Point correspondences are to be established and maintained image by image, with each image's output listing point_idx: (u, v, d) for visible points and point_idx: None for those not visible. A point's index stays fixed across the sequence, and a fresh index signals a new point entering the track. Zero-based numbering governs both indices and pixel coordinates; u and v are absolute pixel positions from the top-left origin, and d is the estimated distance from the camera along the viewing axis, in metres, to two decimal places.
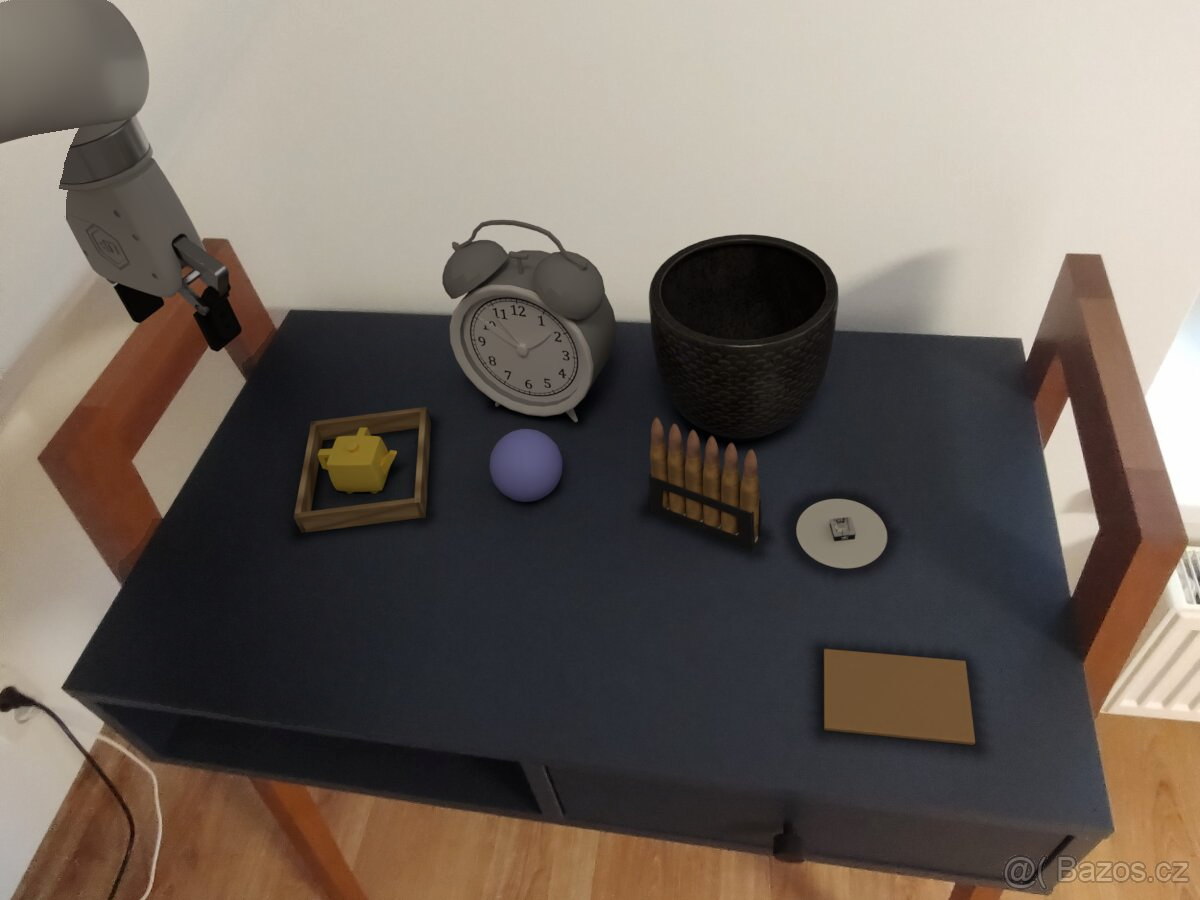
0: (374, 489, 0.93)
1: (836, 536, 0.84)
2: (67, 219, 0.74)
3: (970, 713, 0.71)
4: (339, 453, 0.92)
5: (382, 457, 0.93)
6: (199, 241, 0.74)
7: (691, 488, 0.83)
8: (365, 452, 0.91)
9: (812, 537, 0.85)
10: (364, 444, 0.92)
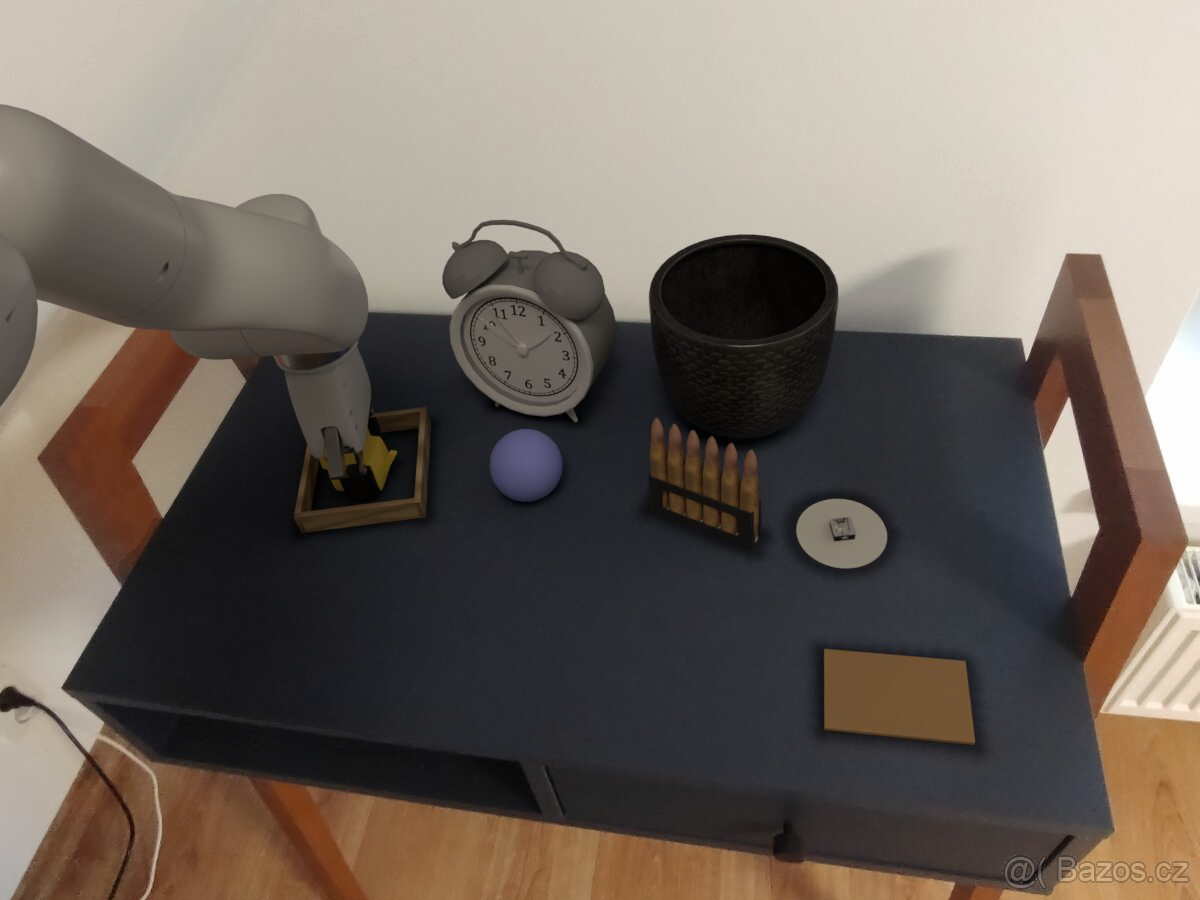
0: None
1: (836, 536, 0.84)
2: None
3: (970, 713, 0.71)
4: None
5: (382, 457, 0.93)
6: (351, 435, 0.84)
7: (691, 488, 0.83)
8: (365, 452, 0.91)
9: (812, 537, 0.85)
10: None
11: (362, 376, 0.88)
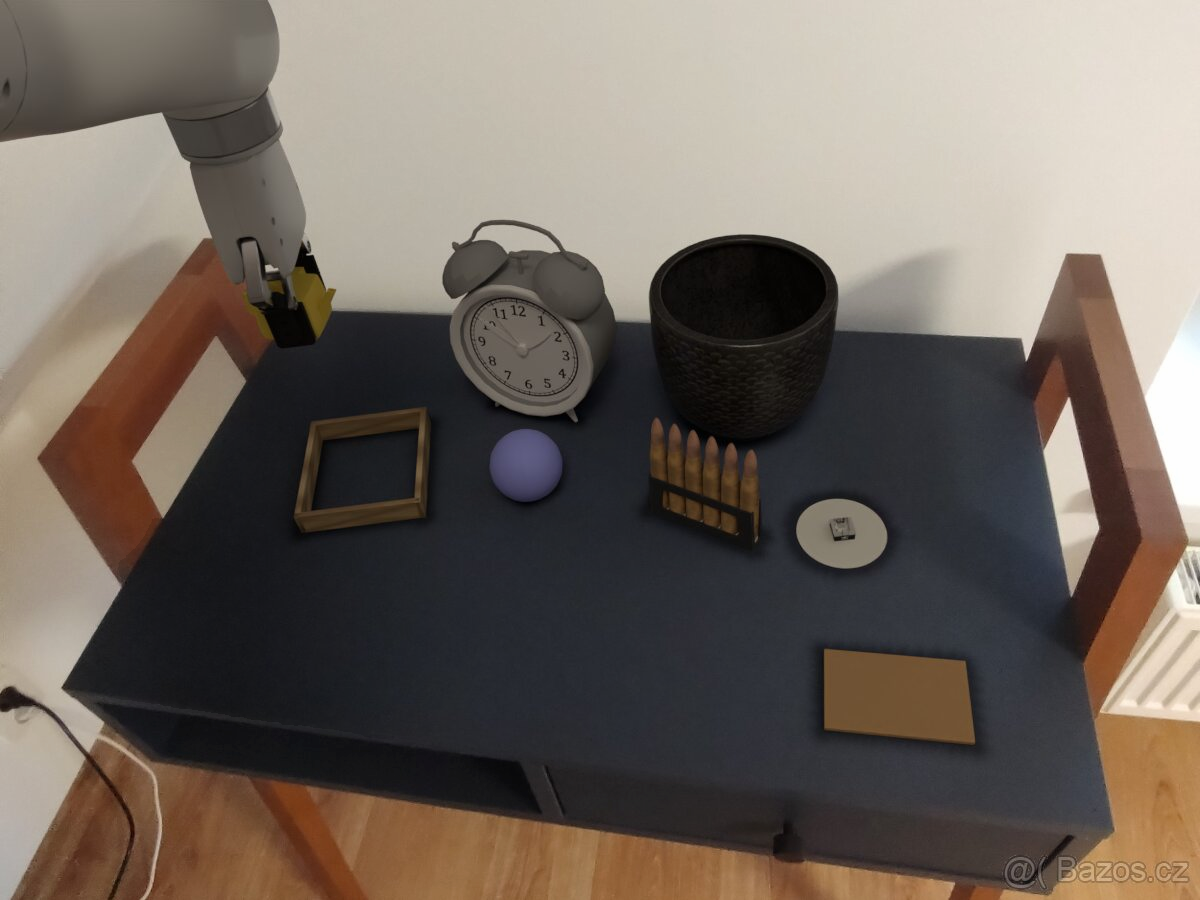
0: None
1: (836, 536, 0.84)
2: None
3: (970, 713, 0.71)
4: None
5: (319, 298, 0.78)
6: (274, 251, 0.70)
7: (691, 488, 0.83)
8: (298, 289, 0.77)
9: (812, 537, 0.85)
10: (297, 282, 0.78)
11: (292, 190, 0.74)
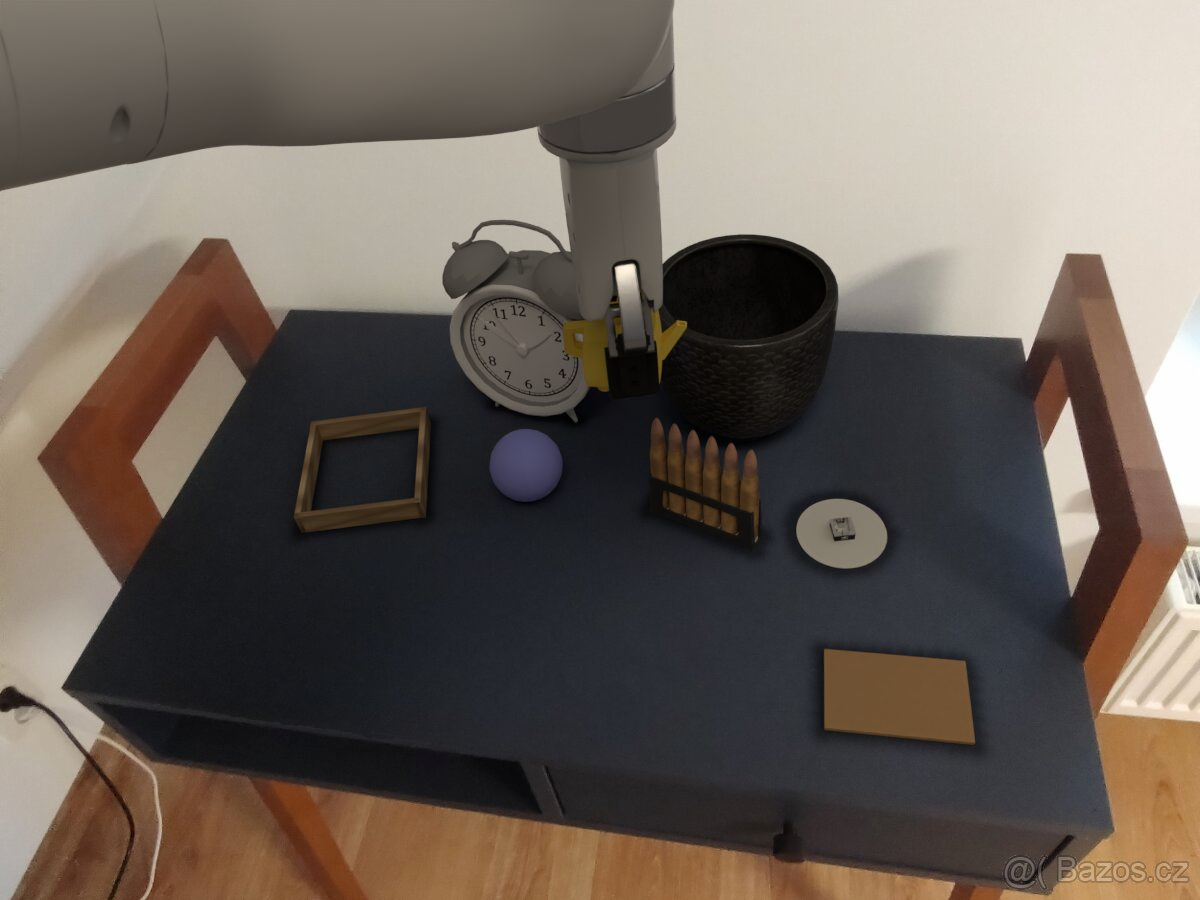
0: None
1: (836, 536, 0.84)
2: None
3: (970, 713, 0.71)
4: (598, 326, 0.59)
5: (660, 333, 0.60)
6: (656, 278, 0.52)
7: (691, 488, 0.83)
8: None
9: (812, 537, 0.85)
10: None
11: None
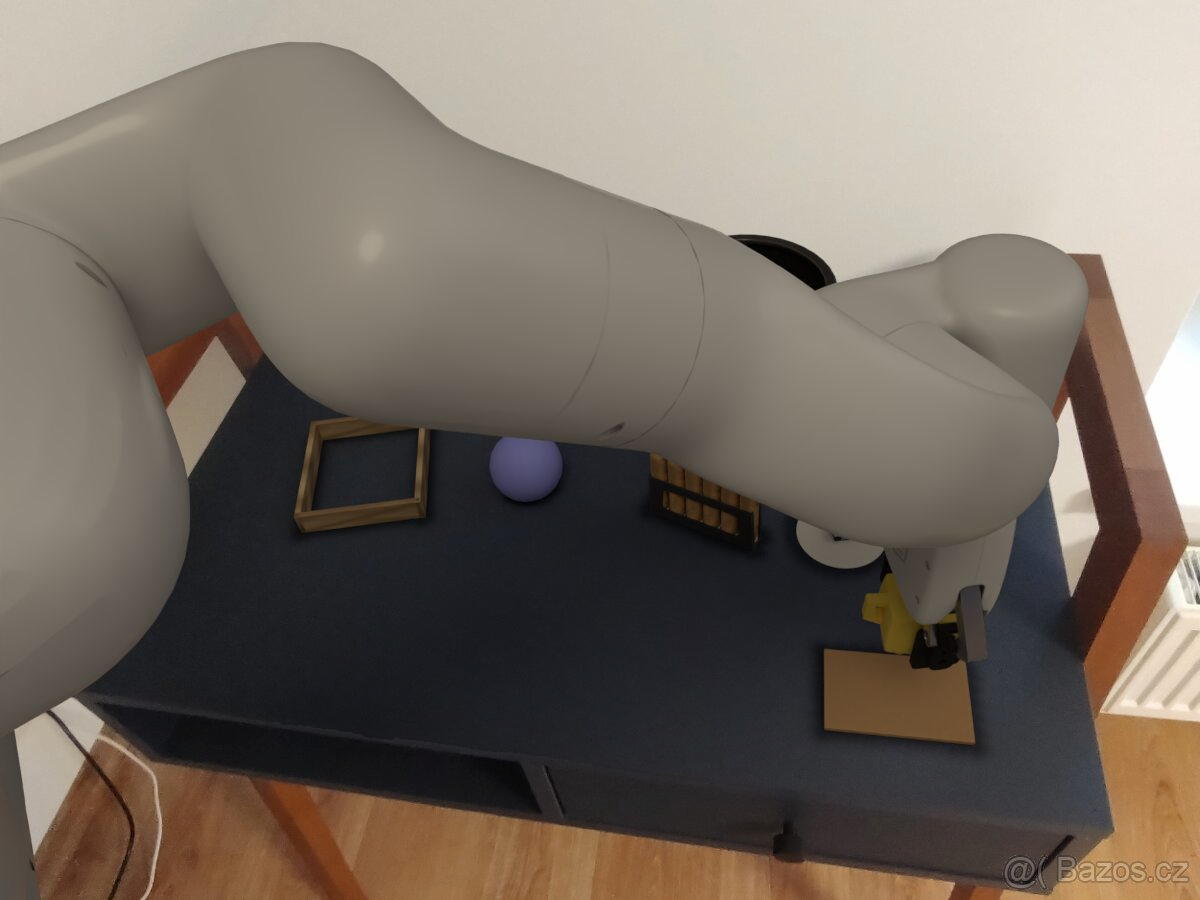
0: None
1: (836, 536, 0.84)
2: None
3: (970, 713, 0.71)
4: None
5: None
6: (996, 595, 0.55)
7: (691, 488, 0.83)
8: None
9: (812, 537, 0.85)
10: None
11: None
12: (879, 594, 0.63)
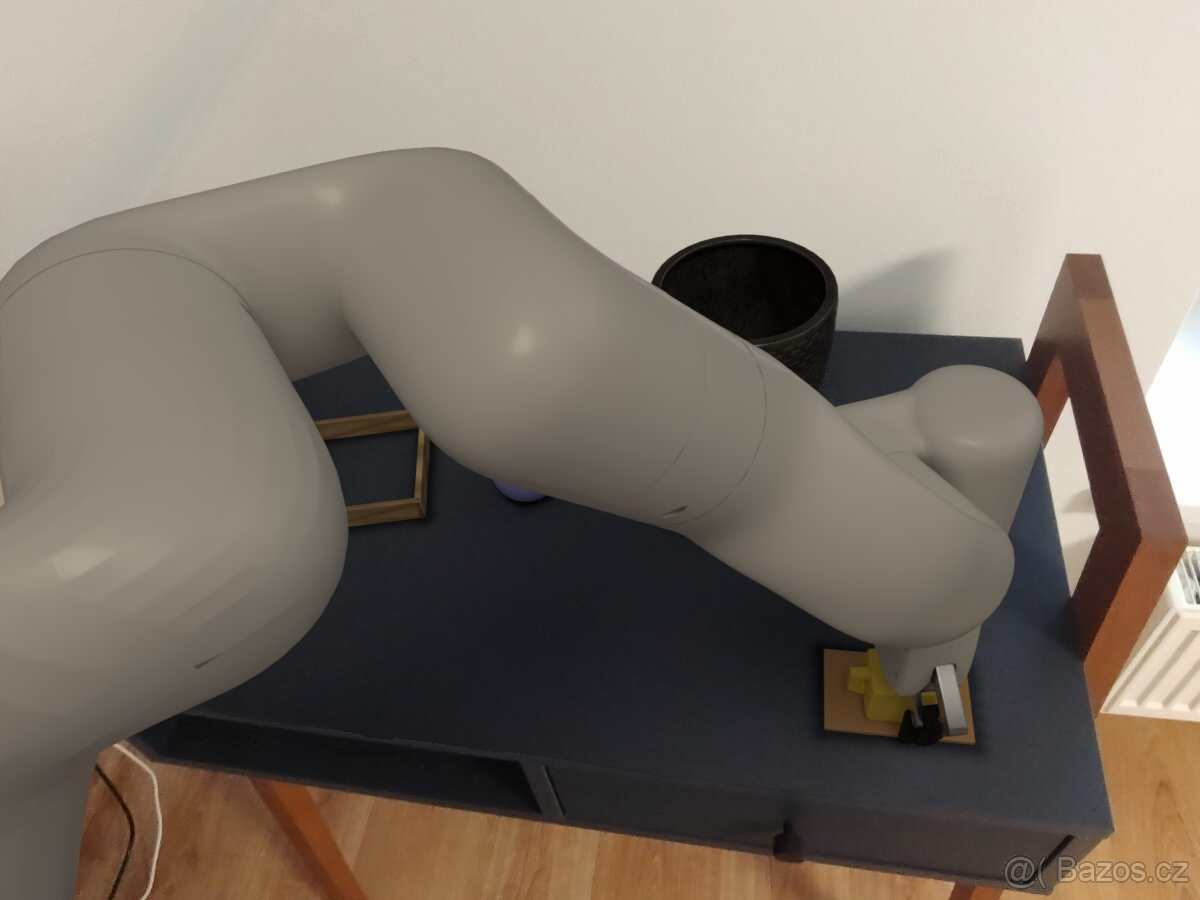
0: None
1: None
2: None
3: (970, 713, 0.71)
4: (884, 677, 0.69)
5: None
6: (966, 672, 0.61)
7: None
8: None
9: None
10: None
11: None
12: (861, 668, 0.70)
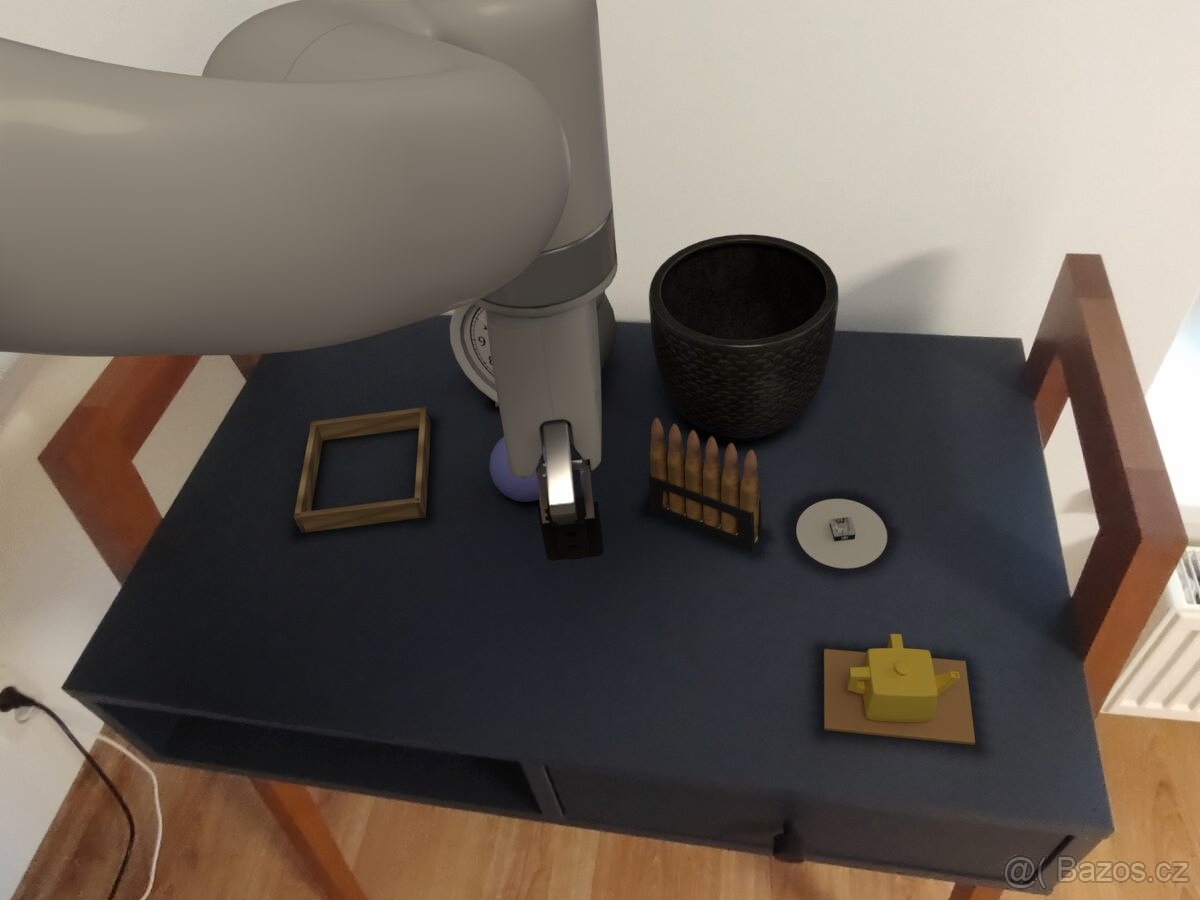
0: (923, 720, 0.70)
1: (836, 536, 0.84)
2: None
3: (970, 713, 0.71)
4: (884, 677, 0.69)
5: None
6: (591, 437, 0.46)
7: (691, 488, 0.83)
8: (920, 675, 0.69)
9: (812, 537, 0.85)
10: (913, 662, 0.70)
11: None
12: (861, 668, 0.70)
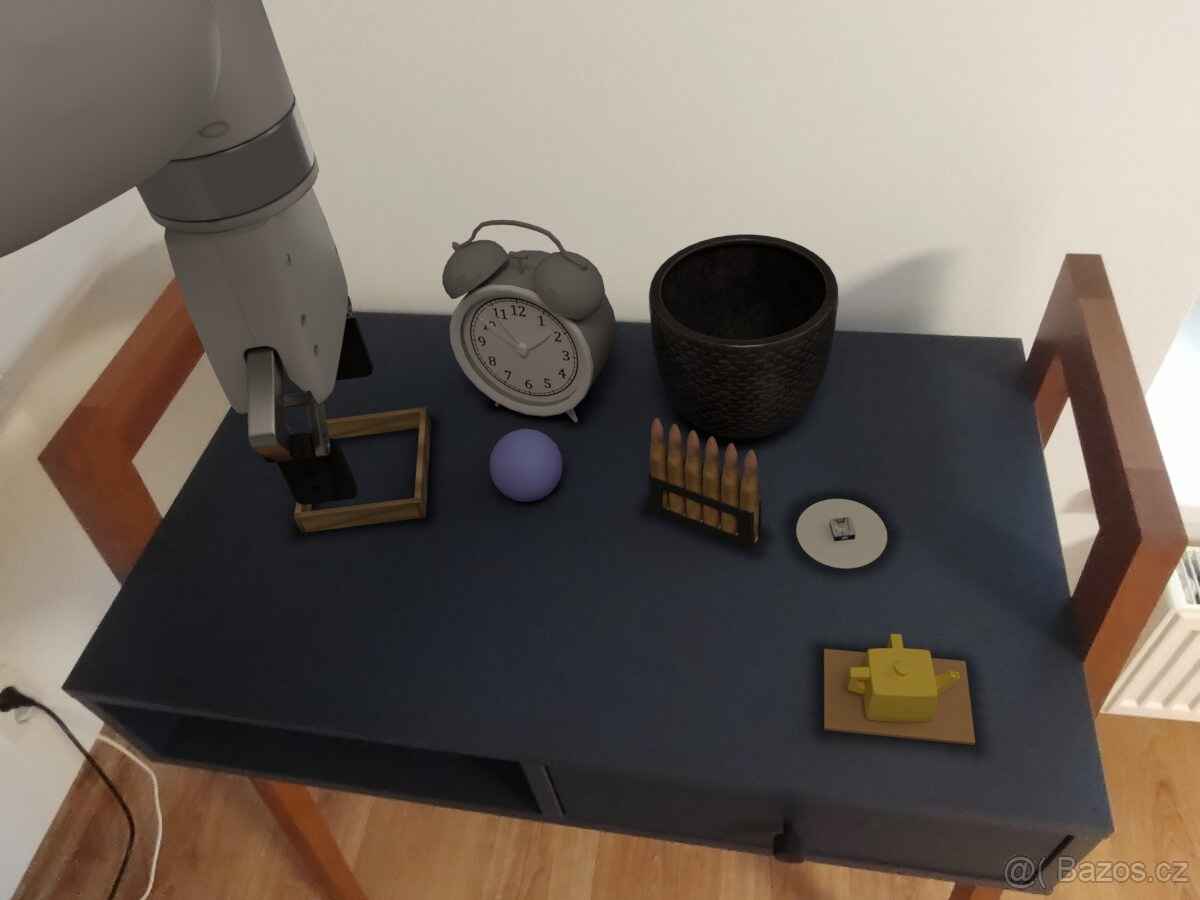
0: (923, 720, 0.70)
1: (836, 536, 0.84)
2: None
3: (970, 713, 0.71)
4: (884, 677, 0.69)
5: None
6: (305, 366, 0.43)
7: (691, 488, 0.83)
8: (920, 675, 0.69)
9: (812, 537, 0.85)
10: (913, 662, 0.70)
11: (329, 260, 0.47)
12: (861, 668, 0.70)
